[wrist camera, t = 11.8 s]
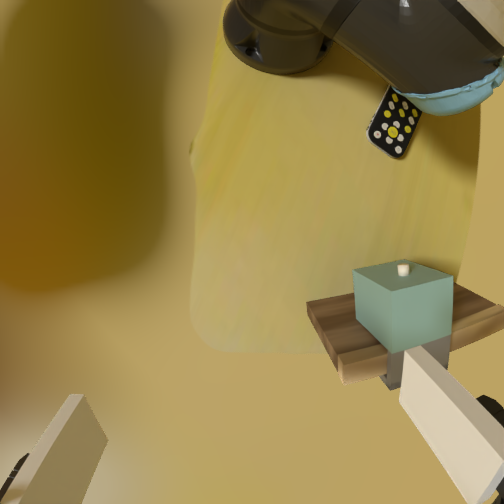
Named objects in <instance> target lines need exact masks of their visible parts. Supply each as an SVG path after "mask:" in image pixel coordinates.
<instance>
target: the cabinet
mask: <svg viewBox="0 0 504 504" xmlns="http://www.w3.org/2000/svg"><path fill="white" fill-rule="evenodd" d="M352 271H353V282H354V295H355V310H356V319H357V320H358V321H359V322H360V323H361V324H362V325H363V326H364V327H365V328H366V329H367V330H368V331H369V332H370V333H371V334H372V335H373V336H374V337H375V338H376V339H377V340H378V341H379V342H380V343H381V344H382V345H383V346H384V347H385V348H387V349H388V351H387V374H384V375H381V376H379V377H380V378H381V379H382V381H383V382H384V383H385V384H386V386H387V387H388V388H389V390H394V389H397V388H400V387H401V382H402V373H403V363H404V352H405V350H407V349H411V348H414V347H417V346H420V345H421V346H422V347H423V348H424V349H425V350H426V351H427V352H428V353H429V354H430V355H431V356H432V357H433V358H434V359H435V360H436V361H437V362H439V363H440V364H441V365H442V366H443V367H444V368H445V369H446V370H447V368H448V360H449V352H450V341H451V329H452V313H453V276H452V275H449V274H446V273H444V272H441V271H438V270H435V269H432V268H429V267H426V266H423V265H420V264H417V263H414V262H411V261H408V260H405V259H404V260H400V261H395V262H390V263H385V264H380V265H374V266H369V267H364V268H359V269H354V270H352Z"/></svg>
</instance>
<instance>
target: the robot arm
mask: <svg viewBox="0 0 504 504" xmlns="http://www.w3.org/2000/svg"><path fill="white" fill-rule="evenodd" d="M223 32H224V37H225V41H226V43H227V45H228V47H229V48H230V50H231V51H232V52H233V54H234V55H235V56H236V57H237V58H238V59H240V60H241V61H242V62H244V63H245V64H247V65H249V66H250V67H253V68H255V69H257V70H260V71H263V72H267V73H273V74H294V73H299V72H302V71H305V70H308V69H310V68H312V67H314V66H315V65H317V64H318V63H319V62H320V61H321V60H322V59H323V58H324V57H325V55H326V54H327V53H328V51H329V50H330V48H331V46H332V44H333V41H335V42H336V43H337V44H339V45H340V46H342V47H343V48H345V49H346V50H347V51H349V52H350V53H351V54H353V55H354V56H355V57H357V58H358V59H359V60H361V61H362V62H363V63H365V64H366V65H367V66H368V67H370V68H371V69H372V70H373V71H375V72H376V73H377V74H378V75H380V76H381V77H382V78H383V79H384V80H386V81H387V82H388V83H389V84H390V85H391V86H392V88H393V89H394V90H395V91H396V92H397V93H398V94H400V95H403V96H405V97H406V98H407V99H408V100H409V101H410V102H412V103H413V104H414V105H415V106H416V107H417V108H418V109H420V110H421V111H423V112H425V113H427V114H432V115H435V116H449V115H454V114H458V113H461V112H464V111H466V110H468V109H471V108H473V107H475V106H476V105H478V104H480V103H481V102H483V101H484V100H486V99H487V98H488V97H489V96H491V95H492V94H493V88H496V87H499V86H500V85H501V83H502V82H503V80H504V57H503V56H504V0H231V1H230V3H229V4H228V6H227V8H226V10H225V13H224V17H223ZM399 403H400V404H401V405H402V407H403V408H404V410H405V411H406V413H407V414H408V415H409V417H410V418H411V420H412V421H413V423H414V424H415V425H416V427H417V428H418V430H419V431H420V433H421V434H422V436H423V437H424V439H425V440H426V441H427V443H428V445H429V446H430V447H431V449H432V450H433V452H434V453H435V455H436V456H437V458H438V459H439V461H440V462H441V464H442V465H443V467H444V468H445V470H446V471H447V473H448V475H449V476H450V478H451V479H452V481H453V482H454V484H455V485H456V487H457V488H458V490H459V491H460V493H461V494H462V496H463V498H464V499H465V501H466V502H467V504H481V503H483V502H485V501H486V500H488V499H489V498H490V497H491V495H492V494H493V493H494V491H495V490H497V491H498V492H499V495H498V497H497V498H496V499H495V501H494V502H493V503H492V504H504V409H503V407H502V406H501V405H500V404H499V403H498V402H497V401H496V400H494V399H492V398H490V397H488V396H485V395H482V396H480V397H478V398H476V399H475V398H474V397H473V396H472V395H471V394H470V393H469V392H468V391H467V390H466V389H465V388H464V387H463V386H462V385H461V384H460V383H459V382H458V381H457V380H456V379H455V378H454V377H453V376H452V375H451V374H450V373H449V372H448V371H447V370H446V369H445V368H444V367H443V366H442V365H441V364H440V363H439V362H437V361H436V360H435V359H434V358H433V357H432V356H431V355H430V354H429V353H428V352H427V351H426V350H425V349H424V348H423V347H422V346H421V345H420V346H417V347H414V348H411V349H407V350H405V352H404V363H403V373H402V382H401V391H400V398H399ZM107 442H108V439H107V437H106V435H105V433H104V431H103V430H102V428H101V426H100V424H99V422H98V421H97V419H96V417H95V415H94V413H93V411H92V410H91V407H90V405H89V403H88V402H87V400H86V397H85V395H82V394H70V396H69V397H68V398H67V400H66V401H65V402H64V404H63V405H62V407H61V408H60V409H59V411H58V413H57V414H56V415H55V417H54V418H53V420H52V421H51V423H50V424H49V426H48V427H47V428H46V430H45V432H44V433H43V435H42V436H41V437H40V439H39V441H38V442H37V444H36V445H35V447H34V448H33V450H32V451H31V453H30V454H29V453H27V454H26V455H25V456H24V457H22V458H21V459H20V460H19V461H18V463H17V464H16V466H15V467H14V471H12V472H11V474H10V475H9V476H10V477H8V478H7V480H6V482H5V483H4V485H3V486H2V488H1V490H0V504H82V501H83V499H84V496H85V494H86V491H87V489H88V486H89V484H90V482H91V479H92V477H93V474H94V472H95V470H96V467H97V465H98V463H99V460H100V458H101V455H102V453H103V451H104V448H105V447H106V444H107Z"/></svg>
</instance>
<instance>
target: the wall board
mask: <svg viewBox="0 0 504 504" xmlns="http://www.w3.org/2000/svg"><path fill="white" fill-rule="evenodd" d="M306 303H307V313H308V316H309V318H310V320H311V322H312V324H313V326H314V328H315V330H316V332H317V333H318V335H319V337H320V339H321V341H322V343H323V345H324V347H325V349H326V350H327V352H328V354H329V356H330V358H331V360H332V362H333V364H334V366H335V367H336V369H337V371H338V375H339V377H340V378H341V381H342V383H343V384H344V385H347V384H351V383H356V382H359V381H363V380H367V379H370V378H374V377H377V376H381V375H384V374H387V351H388V349H387V348H385V347H384V346H383V345H382V344H381V343H380V342H379V341H378V340H377V339H376V338H375V337H374V336H373V335H372V334H371V333H370V332H369V331H368V330H367V329H366V328H365V327H364V326H363V325H362V324H361V323H360V322H359V321H358V320H357V319H356V310H355V295H354V293H351V294H346V295H341V296H336V297H331V298H325V299H320V300H315V301H310V302H306ZM503 328H504V307H503V306H501V305H499V304H498V305H496V304H494V303H492V302H490V301H489V300H487V299H485V298H483V297H481V296H479V295H477V294H475V293H474V292H472V291H469V290H468V289H466V288H464V287H462V286H460V285H458V284H456V283H454V282H453V313H452V329H451V341H450V352H451V351H454V350H456V349H459V348H461V347H464V346H466V345H468V344H471V343H473V342H475V341H478V340H480V339H482V338H484V337H487V336H489V335H491V334H493V333H495V332H497V331H499V330H502V329H503Z"/></svg>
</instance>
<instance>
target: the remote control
mask: <svg viewBox="0 0 504 504" xmlns="http://www.w3.org/2000/svg"><path fill="white" fill-rule="evenodd" d="M421 114H422V111H421V110H420V109H418V108H417V107H416V106H415V105H414V104H413V103H412V102H410V101H409V100H408V99H407V98H406V97H405V96H403V95H400V94H398V93H397V92H396V91H395V90H394V89H393V88H392V86H391V85H390V84H389V86H388V88H387V90H386V92H385V94H384V96H383V98H382V100H381V102H380V104H379V106H378V108H377V110H376V112H375V114H374V116H373V118H372V120H371V123H370V124H369V126H368V129H367V131H366V136H367V139H368V141H369V142H370V143H371V144H373V145H374V146H375V147H377V148H378V149H380V150H381V151H383V152H384V153H385V154H387V155H388V156H390V157H392V158H399V157H401V156H402V155H403V154H404V152H405V150H406V148H407V146H408V143H409V141H410V139H411V137H412V135H413V132H414V130H415V128H416V125H417V123H418V121H419V118H420V116H421Z"/></svg>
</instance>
